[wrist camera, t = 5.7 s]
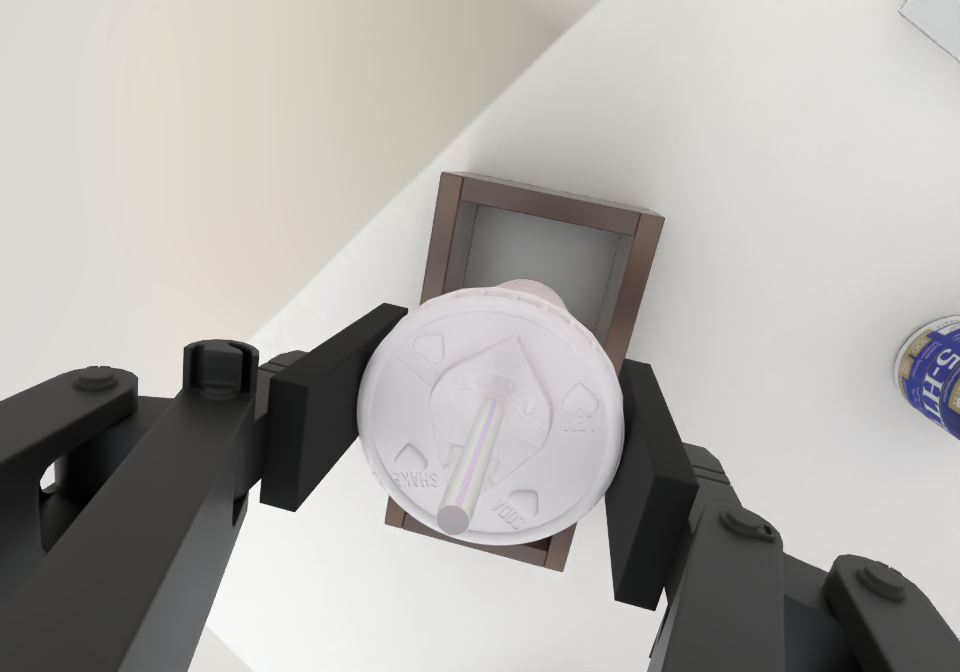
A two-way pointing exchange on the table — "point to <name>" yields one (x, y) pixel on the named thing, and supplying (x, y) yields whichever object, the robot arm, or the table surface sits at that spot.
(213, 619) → the table surface
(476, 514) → the smoothie
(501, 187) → the rack
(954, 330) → the pill bottle
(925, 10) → the white cube
